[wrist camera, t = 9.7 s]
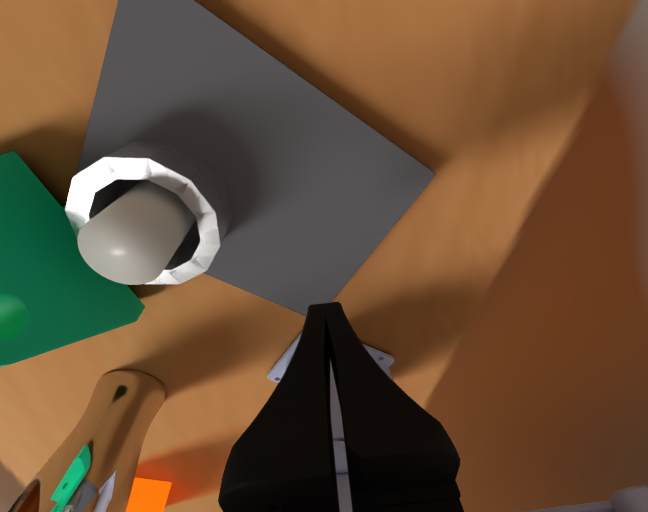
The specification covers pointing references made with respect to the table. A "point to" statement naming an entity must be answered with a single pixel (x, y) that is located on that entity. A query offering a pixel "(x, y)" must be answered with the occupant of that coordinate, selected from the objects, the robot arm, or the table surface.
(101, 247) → the plug cap
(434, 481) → the robot arm
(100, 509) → the beer glass
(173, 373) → the table surface
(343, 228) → the mat
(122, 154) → the sleeve
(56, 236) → the camera mount
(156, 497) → the orange juice
